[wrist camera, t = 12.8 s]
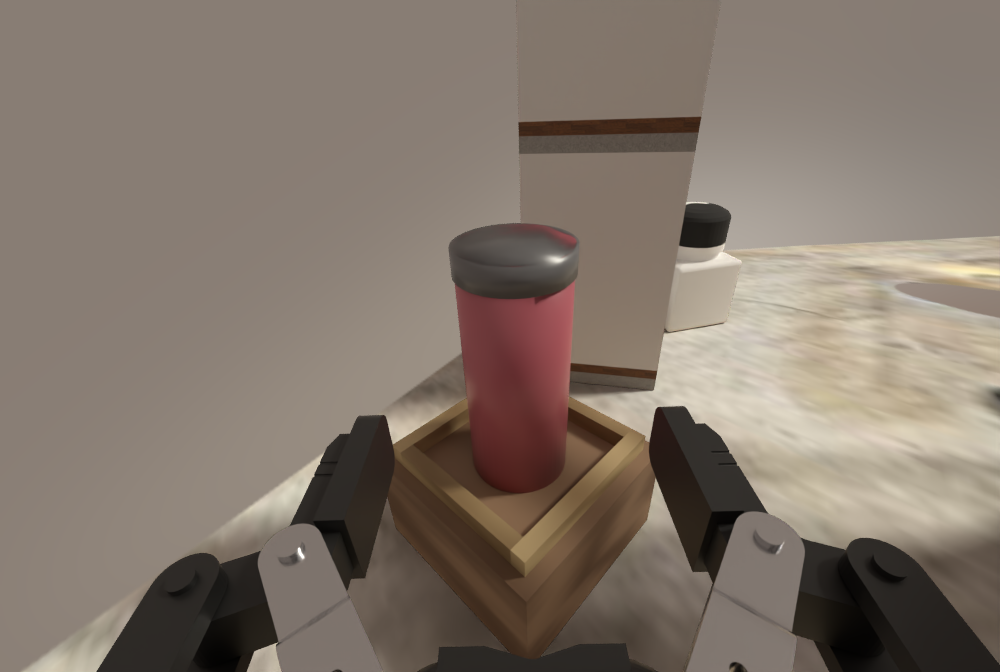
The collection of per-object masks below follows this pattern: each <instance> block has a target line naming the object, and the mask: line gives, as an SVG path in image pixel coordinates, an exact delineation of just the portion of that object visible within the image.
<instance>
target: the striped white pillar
mask: <svg viewBox="0 0 1000 672" xmlns="http://www.w3.org/2000/svg"><path fill="white" fill-rule="evenodd" d="M720 5H721V0H516V18H517V65H518V67H517V68H518V114H519V164H520V210H521V211H520V213H521V223H530V224H541V225H548V226H553V227H557V228H561V229H563V230H566V231H568V232H570V233H572V234H574V235H575V236H576V237H577V238H578V240H579V242H580V246H579V263H578V275H577V278H576V279H575V291H574V310H573V328H572V347H571V365H570V382H578V383H588V384H598V385H607V386H617V387H627V388H636V389H646V390H654V386H655V380H656V375H657V369H658V363H659V357H660V351H661V346H662V340H663V334H664V328H665V323H666V317H667V311H668V305H669V300H670V294H671V288H672V282H673V276H674V271H675V265H676V259H677V253H678V248H679V242H680V236H681V230H682V225H683V219H684V213H685V207H686V201H687V195H688V189H689V184H690V178H691V172H692V167H693V161H694V155H695V150H696V144H697V138H698V132H699V126H700V121H701V115H702V109H703V103H704V97H705V91H706V86H707V80H708V75H709V69H710V63H711V57H712V51H713V46H714V40H715V34H716V28H717V22H718V17H719V11H720Z"/></svg>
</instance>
